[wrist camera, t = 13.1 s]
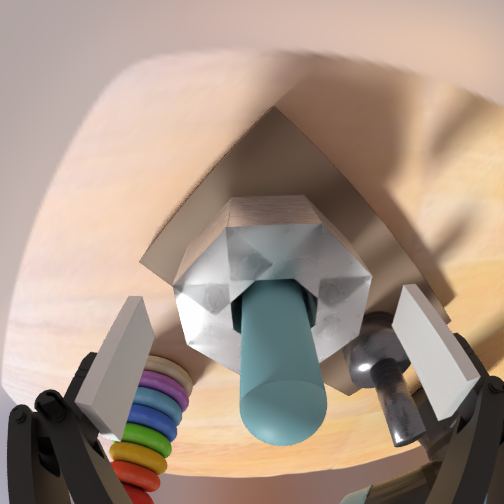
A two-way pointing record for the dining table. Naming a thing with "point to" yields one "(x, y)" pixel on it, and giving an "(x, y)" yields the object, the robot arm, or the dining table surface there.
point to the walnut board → (318, 193)
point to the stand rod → (385, 375)
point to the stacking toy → (151, 428)
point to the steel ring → (269, 274)
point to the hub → (279, 365)
